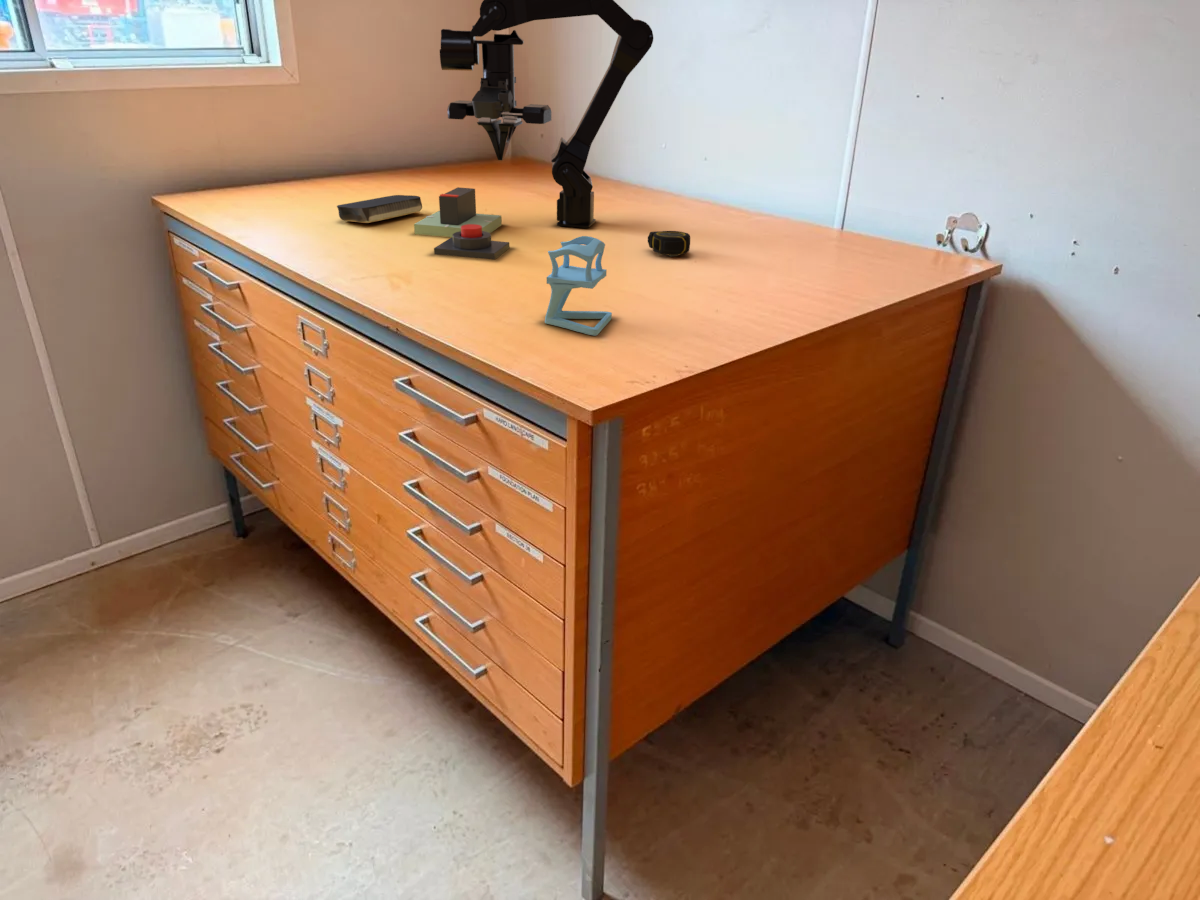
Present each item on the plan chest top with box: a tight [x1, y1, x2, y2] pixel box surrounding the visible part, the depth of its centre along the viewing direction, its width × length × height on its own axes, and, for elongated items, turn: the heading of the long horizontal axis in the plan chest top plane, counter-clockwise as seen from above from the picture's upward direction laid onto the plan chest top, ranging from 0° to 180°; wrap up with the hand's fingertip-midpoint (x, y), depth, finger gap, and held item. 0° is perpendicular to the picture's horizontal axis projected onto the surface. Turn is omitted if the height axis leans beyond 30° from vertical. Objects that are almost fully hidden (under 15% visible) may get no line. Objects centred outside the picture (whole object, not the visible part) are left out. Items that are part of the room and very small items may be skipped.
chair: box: [544, 235, 613, 337], centre depth 118 cm, size 8×8×12 cm
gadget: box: [438, 186, 477, 225], centre depth 164 cm, size 9×4×5 cm, turn 166°
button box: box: [433, 231, 511, 261], centre depth 152 cm, size 11×8×3 cm
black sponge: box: [336, 194, 423, 224], centre depth 173 cm, size 16×8×4 cm, turn 143°
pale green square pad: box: [413, 210, 503, 238], centre depth 166 cm, size 13×13×2 cm
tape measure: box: [647, 230, 691, 257], centre depth 154 cm, size 7×7×4 cm
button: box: [461, 224, 482, 238], centre depth 151 cm, size 4×4×2 cm
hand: (500, 160), depth 167 cm, fingers closed
